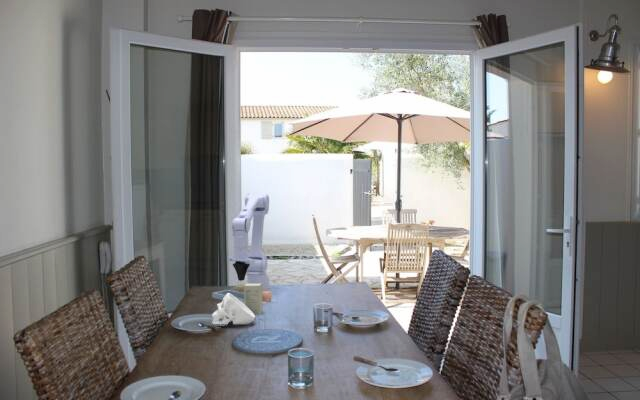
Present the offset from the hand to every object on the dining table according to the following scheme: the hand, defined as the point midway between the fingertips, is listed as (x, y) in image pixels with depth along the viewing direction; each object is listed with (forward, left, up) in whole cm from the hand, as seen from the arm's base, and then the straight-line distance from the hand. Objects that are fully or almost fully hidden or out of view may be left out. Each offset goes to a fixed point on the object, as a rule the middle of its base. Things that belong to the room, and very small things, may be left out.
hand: (241, 280), depth 246 cm
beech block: (-6, -8, -8) cm, 13 cm away
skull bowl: (+22, +22, -10) cm, 33 cm away
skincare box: (+10, +19, -10) cm, 24 cm away
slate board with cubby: (-2, -1, -10) cm, 10 cm away
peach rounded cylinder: (-6, +9, -8) cm, 13 cm away
